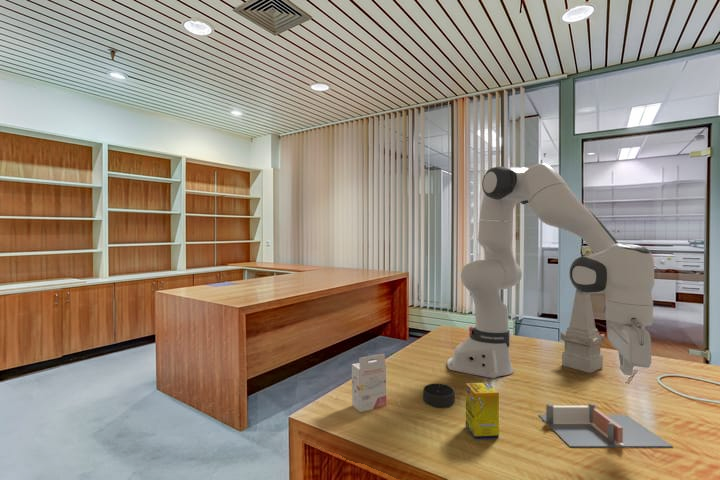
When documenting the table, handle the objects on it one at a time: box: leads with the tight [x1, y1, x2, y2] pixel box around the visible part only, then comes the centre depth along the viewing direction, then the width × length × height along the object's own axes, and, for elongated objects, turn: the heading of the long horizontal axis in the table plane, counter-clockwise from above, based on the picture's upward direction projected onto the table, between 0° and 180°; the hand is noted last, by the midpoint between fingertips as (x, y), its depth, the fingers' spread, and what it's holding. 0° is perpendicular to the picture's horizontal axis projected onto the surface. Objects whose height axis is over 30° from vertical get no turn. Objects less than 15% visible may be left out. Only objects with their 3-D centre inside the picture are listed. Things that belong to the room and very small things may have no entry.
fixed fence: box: [545, 402, 614, 444], centre depth 88 cm, size 12×10×5 cm
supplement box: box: [465, 382, 500, 441], centre depth 88 cm, size 6×6×11 cm
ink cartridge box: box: [351, 353, 387, 413], centre depth 102 cm, size 9×5×15 cm, turn 117°
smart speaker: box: [422, 383, 456, 409], centre depth 105 cm, size 9×9×4 cm
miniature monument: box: [559, 288, 606, 374], centre depth 133 cm, size 10×10×30 cm
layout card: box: [538, 414, 674, 448], centre depth 89 cm, size 23×14×1 cm, turn 90°
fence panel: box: [593, 408, 623, 443], centre depth 87 cm, size 9×1×4 cm, turn 0°
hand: (626, 372), depth 85 cm, fingers closed
